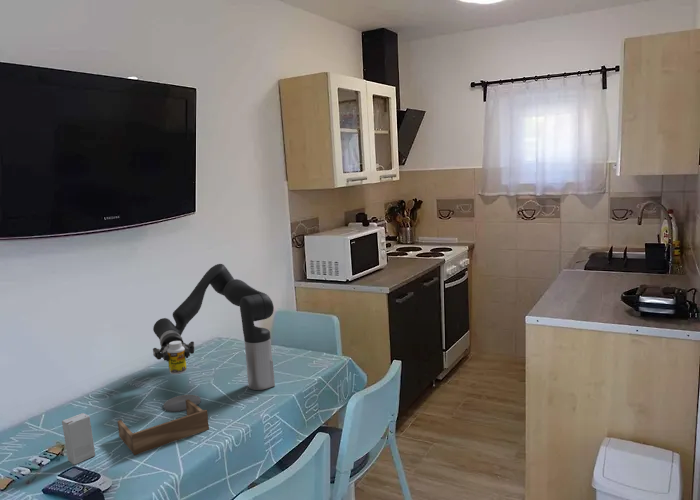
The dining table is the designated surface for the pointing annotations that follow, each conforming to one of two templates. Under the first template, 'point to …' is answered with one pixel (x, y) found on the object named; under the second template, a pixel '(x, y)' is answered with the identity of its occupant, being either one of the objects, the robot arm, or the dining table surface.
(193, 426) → the brown wooden u-shaped piece
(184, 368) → the supplement bottle
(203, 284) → the robot arm
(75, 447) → the skincare box
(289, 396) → the dining table surface
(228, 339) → the dining table surface
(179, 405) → the slate pad
